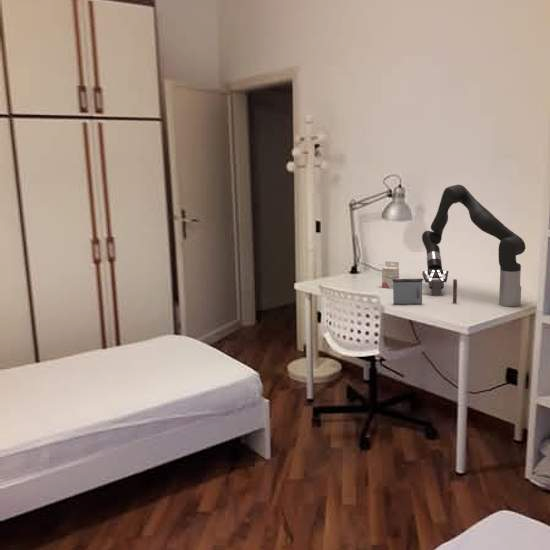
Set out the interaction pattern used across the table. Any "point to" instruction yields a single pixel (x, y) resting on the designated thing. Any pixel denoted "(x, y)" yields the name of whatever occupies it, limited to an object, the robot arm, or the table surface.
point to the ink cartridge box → (389, 274)
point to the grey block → (407, 292)
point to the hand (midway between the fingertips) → (436, 288)
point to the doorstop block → (436, 287)
